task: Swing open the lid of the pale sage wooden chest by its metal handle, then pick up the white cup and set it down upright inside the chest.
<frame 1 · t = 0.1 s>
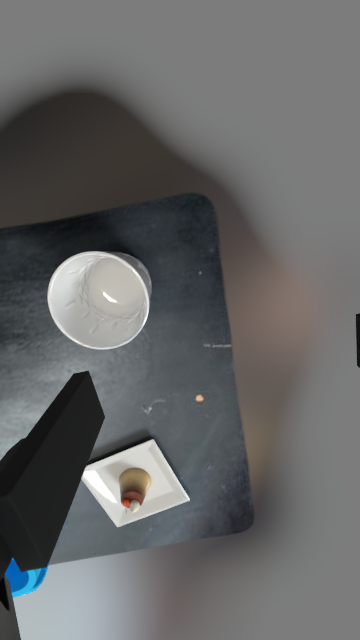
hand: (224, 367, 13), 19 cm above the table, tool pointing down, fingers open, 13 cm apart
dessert: (135, 478, 39), on the table
mug: (41, 517, 41), on the table
white cup: (122, 282, 31), on the table
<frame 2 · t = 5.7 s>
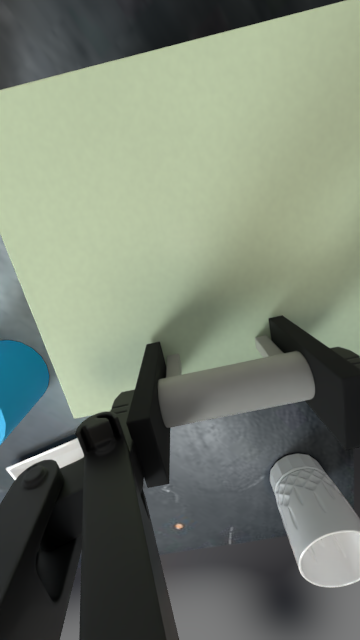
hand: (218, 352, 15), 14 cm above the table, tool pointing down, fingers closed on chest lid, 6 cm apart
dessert: (76, 476, 35), on the table
chest lid: (202, 250, 11), point 16 cm above the table, hinge at -0.2°, touching gripper
white cup: (293, 471, 35), on the table
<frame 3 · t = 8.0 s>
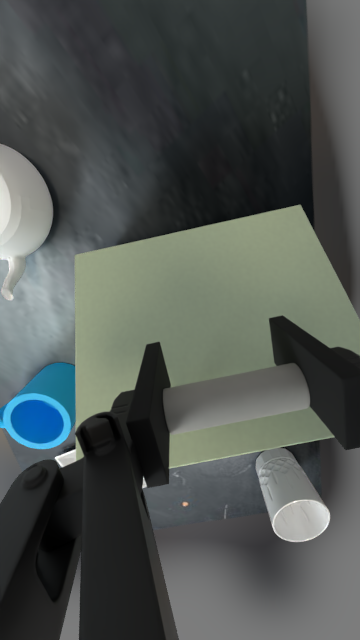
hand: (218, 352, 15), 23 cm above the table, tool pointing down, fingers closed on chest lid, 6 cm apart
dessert: (107, 464, 45), on the table
mug: (52, 388, 41), on the table
chest lid: (206, 306, 16), point 21 cm above the table, hinge at 41.9°, touching gripper
white cup: (274, 461, 46), on the table
teapot: (13, 211, 33), on the table
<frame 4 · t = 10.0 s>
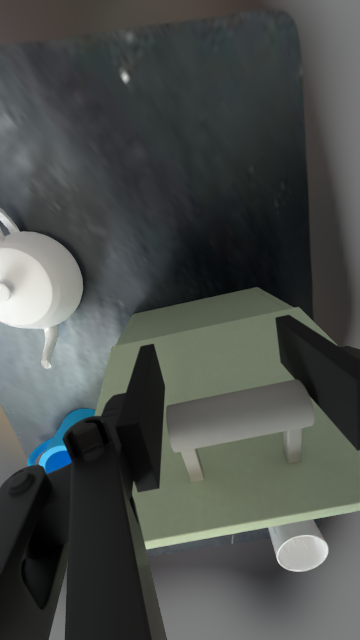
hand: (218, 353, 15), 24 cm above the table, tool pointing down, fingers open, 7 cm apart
mug: (76, 430, 45), on the table
chest lid: (217, 364, 18), point 22 cm above the table, hinge at 76.5°
chest: (204, 348, 41), on the table
white cup: (277, 492, 50), on the table
teapot: (46, 281, 38), on the table
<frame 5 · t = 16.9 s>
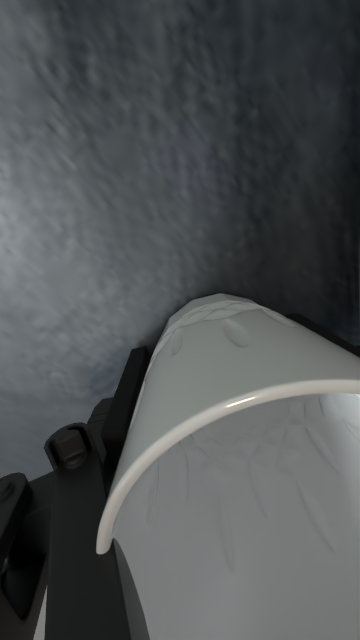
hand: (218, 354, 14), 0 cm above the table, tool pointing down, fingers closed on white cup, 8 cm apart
white cup: (217, 351, 15), on the table, touching gripper
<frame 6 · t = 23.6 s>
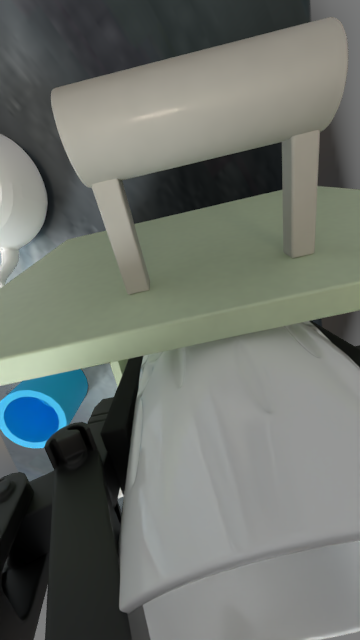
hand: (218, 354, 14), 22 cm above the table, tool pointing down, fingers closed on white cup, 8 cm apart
mug: (48, 386, 39), on the table
chest lid: (187, 188, 12), point 22 cm above the table, hinge at 77.4°
white cup: (213, 325, 14), point 22 cm above the table, touching gripper
teapot: (6, 202, 32), on the table
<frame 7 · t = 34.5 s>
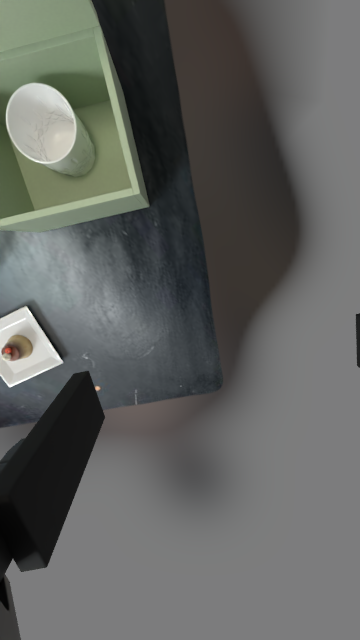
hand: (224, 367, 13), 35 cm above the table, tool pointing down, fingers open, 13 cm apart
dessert: (21, 345, 49), on the table
chest: (79, 167, 41), on the table
white cup: (73, 152, 40), point 1 cm above the table, touching chest
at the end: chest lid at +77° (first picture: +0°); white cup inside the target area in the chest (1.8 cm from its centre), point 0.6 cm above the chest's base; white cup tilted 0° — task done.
